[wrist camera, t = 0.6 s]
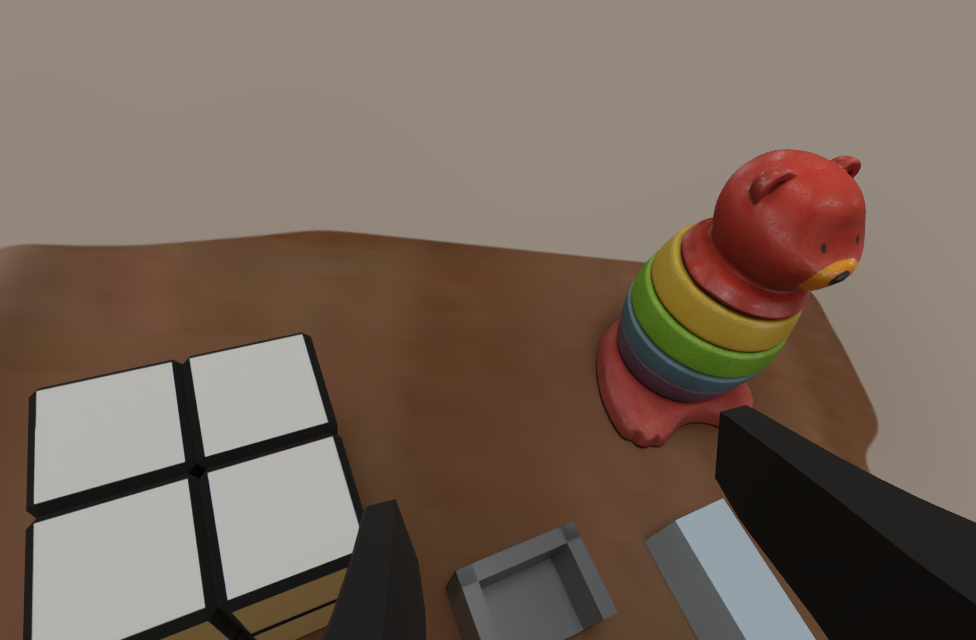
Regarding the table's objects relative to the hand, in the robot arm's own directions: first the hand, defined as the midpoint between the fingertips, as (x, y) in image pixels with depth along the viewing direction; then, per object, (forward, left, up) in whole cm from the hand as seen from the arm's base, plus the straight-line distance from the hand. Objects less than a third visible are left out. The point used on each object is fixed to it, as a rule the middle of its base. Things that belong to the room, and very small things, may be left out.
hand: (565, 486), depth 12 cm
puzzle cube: (+7, +8, -19) cm, 22 cm away
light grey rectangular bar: (-6, -14, -19) cm, 24 cm away
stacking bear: (+9, -20, -19) cm, 29 cm away
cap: (0, -4, -19) cm, 19 cm away
